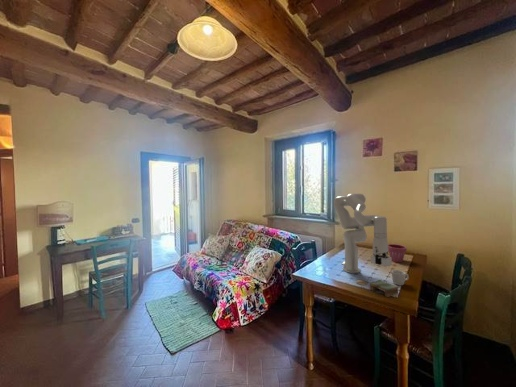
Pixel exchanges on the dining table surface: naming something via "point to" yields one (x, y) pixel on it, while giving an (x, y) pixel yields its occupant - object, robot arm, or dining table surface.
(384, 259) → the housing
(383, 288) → the stand
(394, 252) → the plant pot
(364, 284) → the coaster
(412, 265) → the dining table surface
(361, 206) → the robot arm
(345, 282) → the dining table surface
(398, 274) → the cup
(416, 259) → the dining table surface
